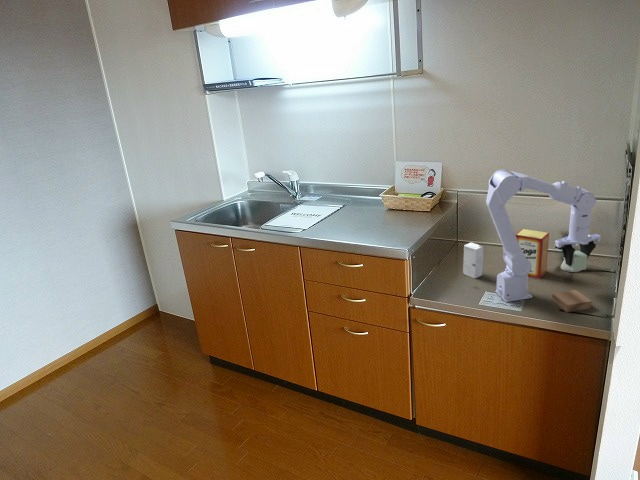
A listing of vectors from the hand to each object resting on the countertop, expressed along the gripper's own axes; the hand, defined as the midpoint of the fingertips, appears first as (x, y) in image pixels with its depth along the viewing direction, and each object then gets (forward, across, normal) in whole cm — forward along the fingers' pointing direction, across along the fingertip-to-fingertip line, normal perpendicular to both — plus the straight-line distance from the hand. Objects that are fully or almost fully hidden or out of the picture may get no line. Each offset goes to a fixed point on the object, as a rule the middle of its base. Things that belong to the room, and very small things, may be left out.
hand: (575, 263), depth 154 cm
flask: (+10, +9, +15) cm, 20 cm away
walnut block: (+11, -6, -8) cm, 15 cm away
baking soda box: (+10, -6, +17) cm, 21 cm away
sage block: (+1, 0, 0) cm, 1 cm away
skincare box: (+10, -26, +22) cm, 36 cm away
